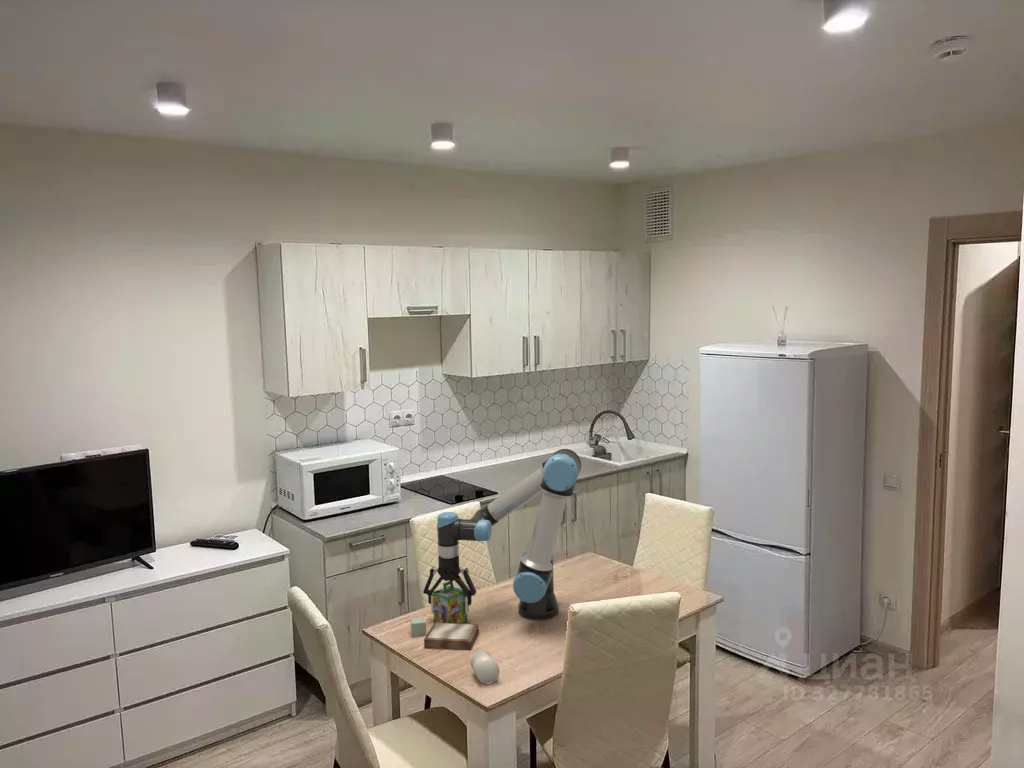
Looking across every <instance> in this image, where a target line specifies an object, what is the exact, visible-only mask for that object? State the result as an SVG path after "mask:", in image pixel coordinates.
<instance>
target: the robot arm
mask: <svg viewBox="0 0 1024 768" xmlns="http://www.w3.org/2000/svg"><path fill="white" fill-rule="evenodd" d="M581 469H582V461H581V457H580V456H579V455H578V454H577V453H576V452H575V450H572V449H570V448H560V449H558V450H555V452H553V453H552V455H551V456H549V458H547V459H546V460H545V461H543V462H542V463H541V465H540V468H538V469H537V470H535V471H534V472H533V473H531V474H530V475H528V476H526V477H525V478H524V479H523V480H521V481H519V482H517V484H515V485H513V486H512V487H511V488H510V489H508V490H507V491H505V492H504V493H502V494H501V495H499V496H498V497H497V498H495V499H493V501H491V502H489V503H488V504H487V505H485V506H484V507H481V508H480V509H478V510H477V511H476V512H475V513H474V515H472V516H471V518H470V519H466V518H465V519H464V518H459V515H458V513H456V512H455V511H454V512H453V511H447V512H440V513H439V514H438V515H437V524H436V528H437V529H436V530H437V555H438V558H437V559H438V561H437V562H438V568H435V567H434V566H432V567H431V568H430V570H429V576H428V578H427V580H426V581H427V582H426V584H425V585H424V588H423V591H422V593H423V594H424V595H425V594H426V595H427V597H428V604H430V608H431V609H430V610H431V614H434V606H433V592H435V591H436V589H437V588H438V586H439V585H440V584H441V582H442V581H445V582H449V581H452V582H455V583H456V584H457V585H458V586H459V587H460V589H461V590H463V591H464V593H465V594H466V597H465V609H466V615H467V616H468V615H469V613H470V606H471V605H472V602H473V601H472V597H473V596H475V595H476V594H477V589H476V587H475V584H474V583H473V581H472V579H471V576H470V573H469V569H468V567H465V568H461V567H460V555H459V554H460V551H459V550H460V546H459V542H460V541H470V542H488V541H489V540H490V539H491V537H492V531H493V529H492V528H493V526H494V525H495V526H496V524H498V523H499V522H500V521H501V520H503V519H504V518H506V517H508V516H509V515H510V514H512V513H513V512H515V511H517V510H518V509H519V508H520V507H522V506H524V505H525V504H527V503H528V502H529V501H530V500H532V499H534V498H535V497H537V496H538V495H539V494H541V493H542V496H541V499H540V503H539V506H538V512H537V514H536V518H535V522H534V526H533V528H532V529H533V530H532V533H531V537H530V541H529V544H528V548H527V551H524V552H523V553H522V554H521V557H520V558H521V559H520V562H519V565H518V569H517V573H516V576H515V577H514V579H513V583H512V590H513V593H514V594H515V596H516V597H517V598H518V599H519V603H518V614H519V616H521V617H523V618H525V619H529V620H534V621H535V620H536V621H540V620H547V619H548V620H549V619H552V618H554V617H556V616H557V615H558V614H559V611H560V609H559V607H560V606H559V603H558V600H557V596H556V593H555V591H554V590H555V589H554V588H555V587H554V582H555V581H554V578H555V577H554V562H555V560H554V556H553V551H554V548H555V544H556V540H557V537H558V533H559V530H560V527H561V522H562V518H563V515H564V511H565V507H566V504H567V500H568V499H570V498H571V497H573V494H574V491H575V487H576V485H577V481H578V477H579V475H580V472H581ZM437 573H438V575H439V578H438V579H437V581H435V583H434V585H433V586H432V587H431V588H430V586H431V584H432V581H433V578H434V576H435V575H436V574H437ZM460 574H461V575H462V576H463V577H464V580H465V582H466V583H465V582H464V581H463V579H462V577H461V576H460Z"/></svg>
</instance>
